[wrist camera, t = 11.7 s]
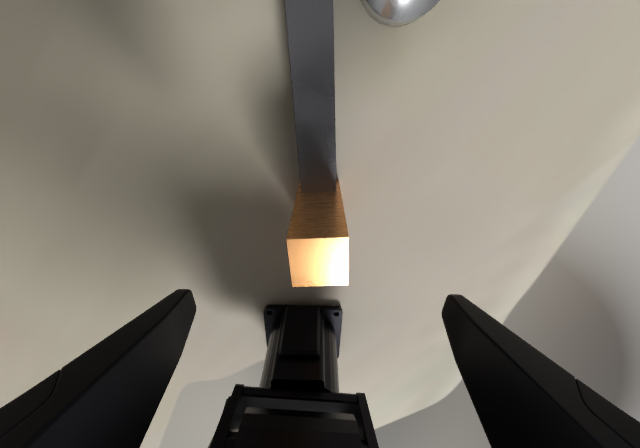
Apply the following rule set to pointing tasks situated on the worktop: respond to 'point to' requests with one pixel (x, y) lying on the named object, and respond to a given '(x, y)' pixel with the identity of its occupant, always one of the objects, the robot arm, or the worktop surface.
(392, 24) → the puck
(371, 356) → the worktop surface
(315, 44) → the hook tool
